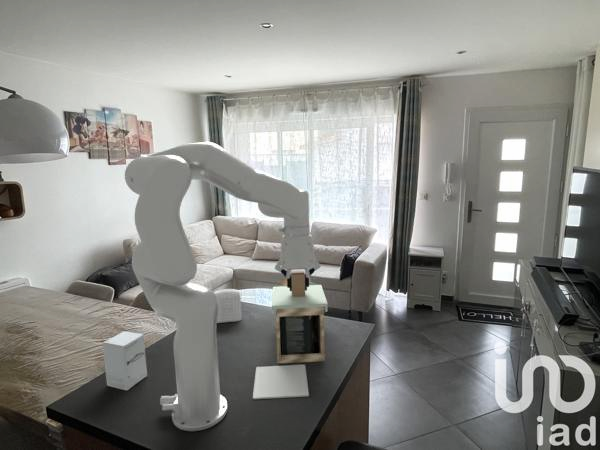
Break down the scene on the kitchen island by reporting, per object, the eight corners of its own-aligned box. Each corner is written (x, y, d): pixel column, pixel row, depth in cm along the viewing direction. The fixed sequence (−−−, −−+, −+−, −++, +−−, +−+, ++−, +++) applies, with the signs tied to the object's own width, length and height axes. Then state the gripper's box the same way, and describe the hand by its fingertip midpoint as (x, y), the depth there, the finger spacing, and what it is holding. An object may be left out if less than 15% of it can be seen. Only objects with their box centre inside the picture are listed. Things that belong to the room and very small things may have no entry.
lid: (272, 314, 102) (270, 282, 101) (273, 293, 119) (272, 266, 117) (327, 311, 103) (327, 279, 102) (321, 291, 120) (320, 264, 118)
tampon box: (311, 359, 107) (310, 312, 105) (281, 356, 109) (279, 311, 107) (316, 341, 118) (316, 299, 116) (289, 339, 120) (288, 297, 117)
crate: (277, 363, 105) (275, 308, 103) (277, 337, 121) (276, 289, 118) (324, 361, 106) (324, 306, 103) (319, 336, 122) (318, 288, 119)
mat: (252, 399, 89) (252, 397, 89) (256, 368, 103) (256, 367, 103) (308, 396, 90) (308, 394, 90) (305, 365, 104) (305, 364, 104)
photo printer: (241, 317, 139) (239, 286, 137) (242, 321, 135) (240, 290, 133) (214, 319, 137) (212, 288, 135) (213, 324, 133) (211, 292, 131)
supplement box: (127, 391, 94) (122, 346, 92) (106, 386, 96) (101, 342, 94) (148, 376, 100) (144, 333, 98) (128, 371, 103) (123, 330, 101)
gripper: (268, 234, 103) (270, 294, 106) (326, 232, 104) (326, 292, 107) (269, 229, 111) (271, 286, 114) (323, 228, 112) (323, 284, 114)
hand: (298, 288), depth 110 cm, fingers closed on lid, 4 cm apart
